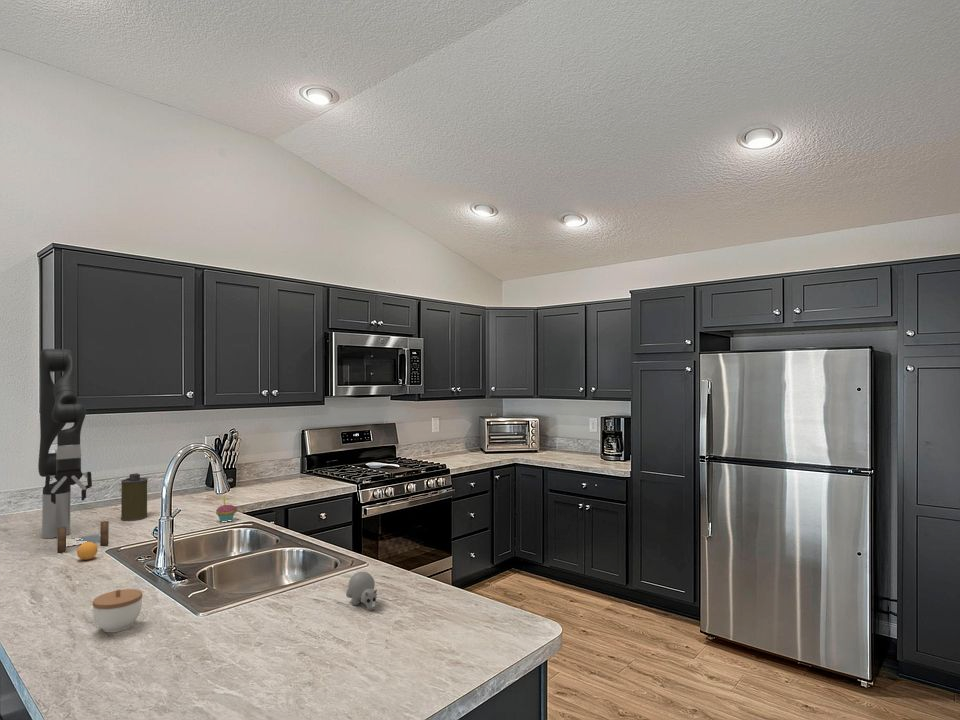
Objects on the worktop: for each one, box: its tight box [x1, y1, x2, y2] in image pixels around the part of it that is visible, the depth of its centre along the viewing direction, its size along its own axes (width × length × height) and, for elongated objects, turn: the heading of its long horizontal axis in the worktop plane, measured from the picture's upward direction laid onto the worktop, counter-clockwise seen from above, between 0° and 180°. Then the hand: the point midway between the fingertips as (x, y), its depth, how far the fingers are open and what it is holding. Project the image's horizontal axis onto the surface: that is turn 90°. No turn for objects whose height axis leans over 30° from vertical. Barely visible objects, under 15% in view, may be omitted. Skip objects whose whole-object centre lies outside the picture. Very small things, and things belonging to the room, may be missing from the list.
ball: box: [76, 542, 99, 561], centre depth 204 cm, size 6×6×6 cm
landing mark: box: [71, 533, 100, 544], centre depth 227 cm, size 13×13×1 cm
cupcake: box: [215, 494, 238, 521], centre depth 257 cm, size 9×8×12 cm
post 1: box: [56, 527, 67, 554], centre depth 212 cm, size 3×3×9 cm
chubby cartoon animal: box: [345, 571, 378, 612], centre depth 160 cm, size 7×12×8 cm, turn 36°
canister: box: [120, 472, 148, 522], centre depth 264 cm, size 11×10×20 cm
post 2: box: [99, 520, 110, 547], centre depth 220 cm, size 3×3×9 cm
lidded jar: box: [92, 588, 143, 634], centre depth 148 cm, size 11×11×9 cm
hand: (68, 501), depth 215 cm, fingers open, 8 cm apart
